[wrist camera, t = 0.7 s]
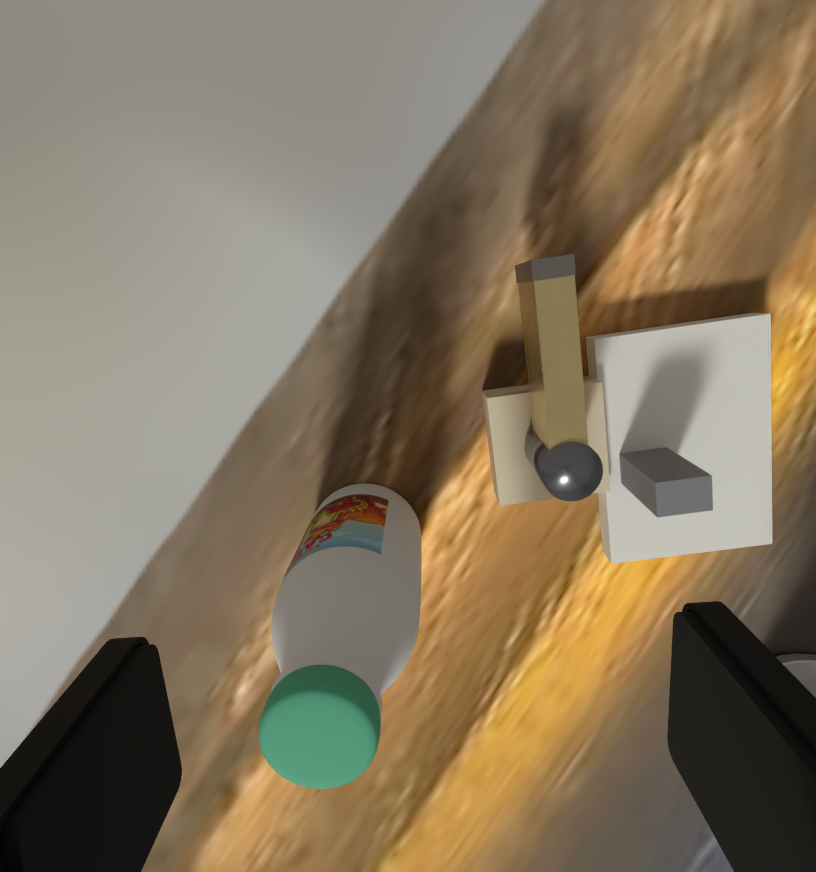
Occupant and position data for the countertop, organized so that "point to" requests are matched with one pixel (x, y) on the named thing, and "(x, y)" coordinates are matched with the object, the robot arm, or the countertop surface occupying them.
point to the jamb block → (511, 429)
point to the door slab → (686, 437)
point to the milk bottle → (342, 635)
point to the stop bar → (556, 379)
